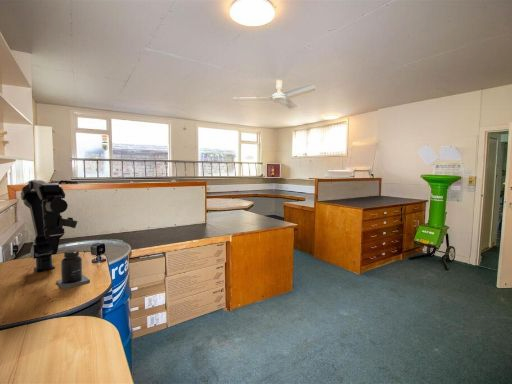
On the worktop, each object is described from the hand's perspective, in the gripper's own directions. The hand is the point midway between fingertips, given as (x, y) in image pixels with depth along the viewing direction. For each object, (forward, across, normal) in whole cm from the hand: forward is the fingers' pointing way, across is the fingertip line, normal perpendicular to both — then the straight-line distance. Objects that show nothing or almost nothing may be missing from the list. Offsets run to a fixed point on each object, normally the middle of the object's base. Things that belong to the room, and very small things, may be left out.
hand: (54, 250), depth 107 cm
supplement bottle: (+12, -8, -4) cm, 15 cm away
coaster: (+13, -8, -4) cm, 16 cm away
